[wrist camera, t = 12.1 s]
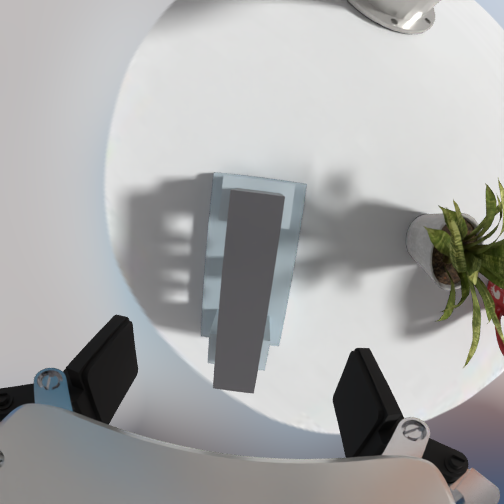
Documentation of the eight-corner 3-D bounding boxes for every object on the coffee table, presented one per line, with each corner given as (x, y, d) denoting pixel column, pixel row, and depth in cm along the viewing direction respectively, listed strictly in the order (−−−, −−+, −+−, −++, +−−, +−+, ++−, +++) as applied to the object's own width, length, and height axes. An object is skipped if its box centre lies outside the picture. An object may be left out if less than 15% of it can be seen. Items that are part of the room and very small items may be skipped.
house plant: (465, 155, 22) (577, 159, 7) (478, 267, 26) (568, 321, 10) (363, 180, 24) (485, 191, 8) (387, 307, 27) (466, 407, 11)
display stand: (216, 172, 24) (199, 169, 18) (304, 183, 24) (319, 185, 18) (203, 328, 28) (188, 368, 22) (278, 338, 28) (281, 380, 22)
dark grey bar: (237, 187, 19) (230, 189, 15) (280, 193, 19) (285, 196, 15) (220, 357, 22) (213, 387, 18) (255, 362, 22) (253, 393, 18)
